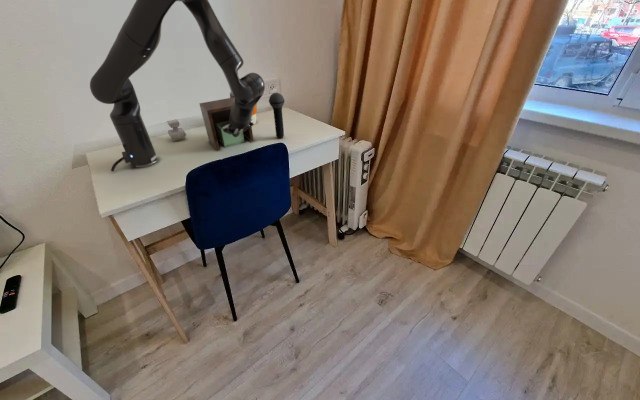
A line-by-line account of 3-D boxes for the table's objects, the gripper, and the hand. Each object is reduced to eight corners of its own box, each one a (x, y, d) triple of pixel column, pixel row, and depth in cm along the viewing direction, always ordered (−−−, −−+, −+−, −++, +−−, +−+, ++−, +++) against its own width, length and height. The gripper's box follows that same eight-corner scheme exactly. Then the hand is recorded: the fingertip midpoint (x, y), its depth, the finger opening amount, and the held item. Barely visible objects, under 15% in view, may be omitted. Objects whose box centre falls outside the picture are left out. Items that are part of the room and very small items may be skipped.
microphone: (276, 141, 126) (271, 96, 114) (271, 136, 130) (265, 92, 118) (289, 138, 128) (286, 93, 116) (284, 133, 133) (280, 90, 121)
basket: (225, 146, 122) (221, 129, 117) (219, 140, 127) (215, 123, 122) (244, 141, 126) (241, 124, 121) (238, 135, 131) (234, 119, 126)
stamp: (188, 140, 127) (183, 122, 122) (173, 144, 124) (166, 125, 119) (184, 133, 133) (178, 116, 128) (169, 137, 131) (163, 119, 126)
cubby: (216, 150, 119) (206, 110, 108) (209, 141, 126) (199, 103, 116) (253, 141, 126) (247, 102, 116) (244, 133, 134) (238, 96, 123)
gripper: (253, 102, 106) (246, 123, 121) (219, 108, 100) (216, 130, 115) (261, 119, 105) (253, 139, 121) (227, 127, 99) (223, 146, 115)
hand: (235, 134), depth 118 cm, fingers closed
